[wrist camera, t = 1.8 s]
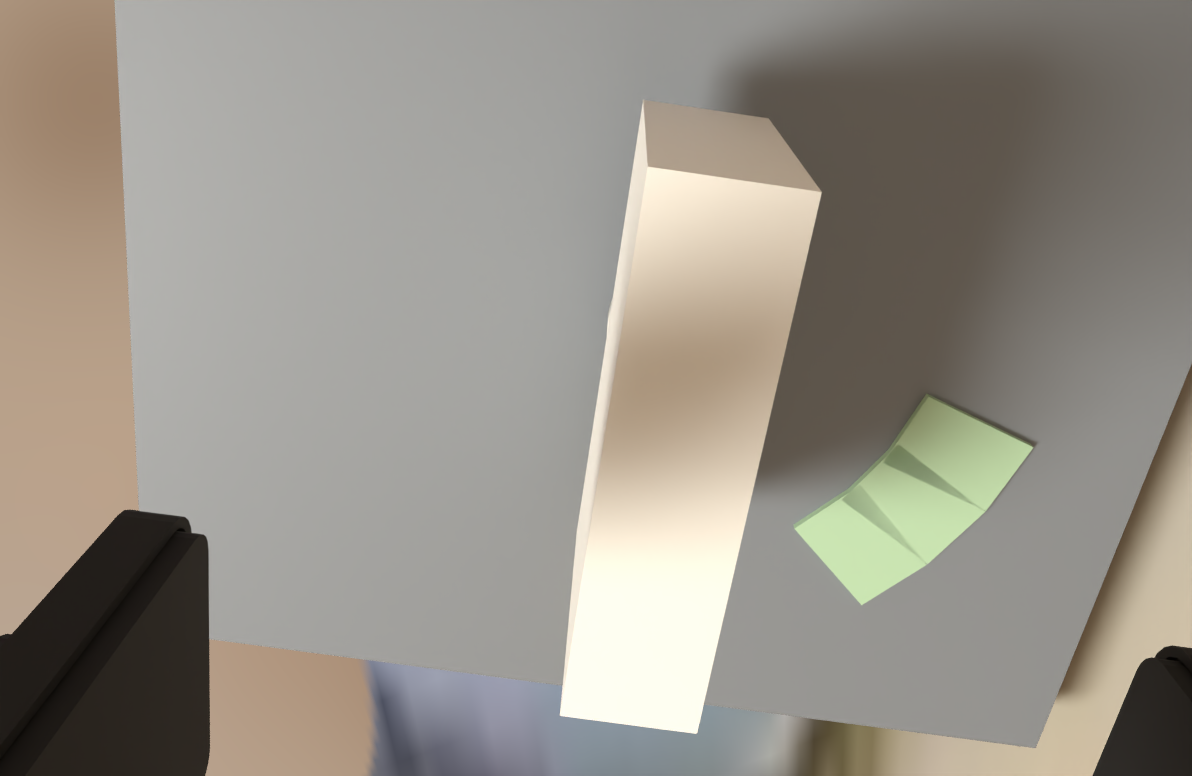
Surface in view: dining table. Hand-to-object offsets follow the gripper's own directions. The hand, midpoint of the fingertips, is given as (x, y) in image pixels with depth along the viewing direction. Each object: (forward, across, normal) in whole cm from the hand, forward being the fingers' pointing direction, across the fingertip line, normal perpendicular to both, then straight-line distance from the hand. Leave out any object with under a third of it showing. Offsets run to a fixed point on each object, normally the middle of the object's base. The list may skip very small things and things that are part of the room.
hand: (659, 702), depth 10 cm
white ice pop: (+10, 0, +1) cm, 10 cm away
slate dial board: (+12, 0, -1) cm, 12 cm away
